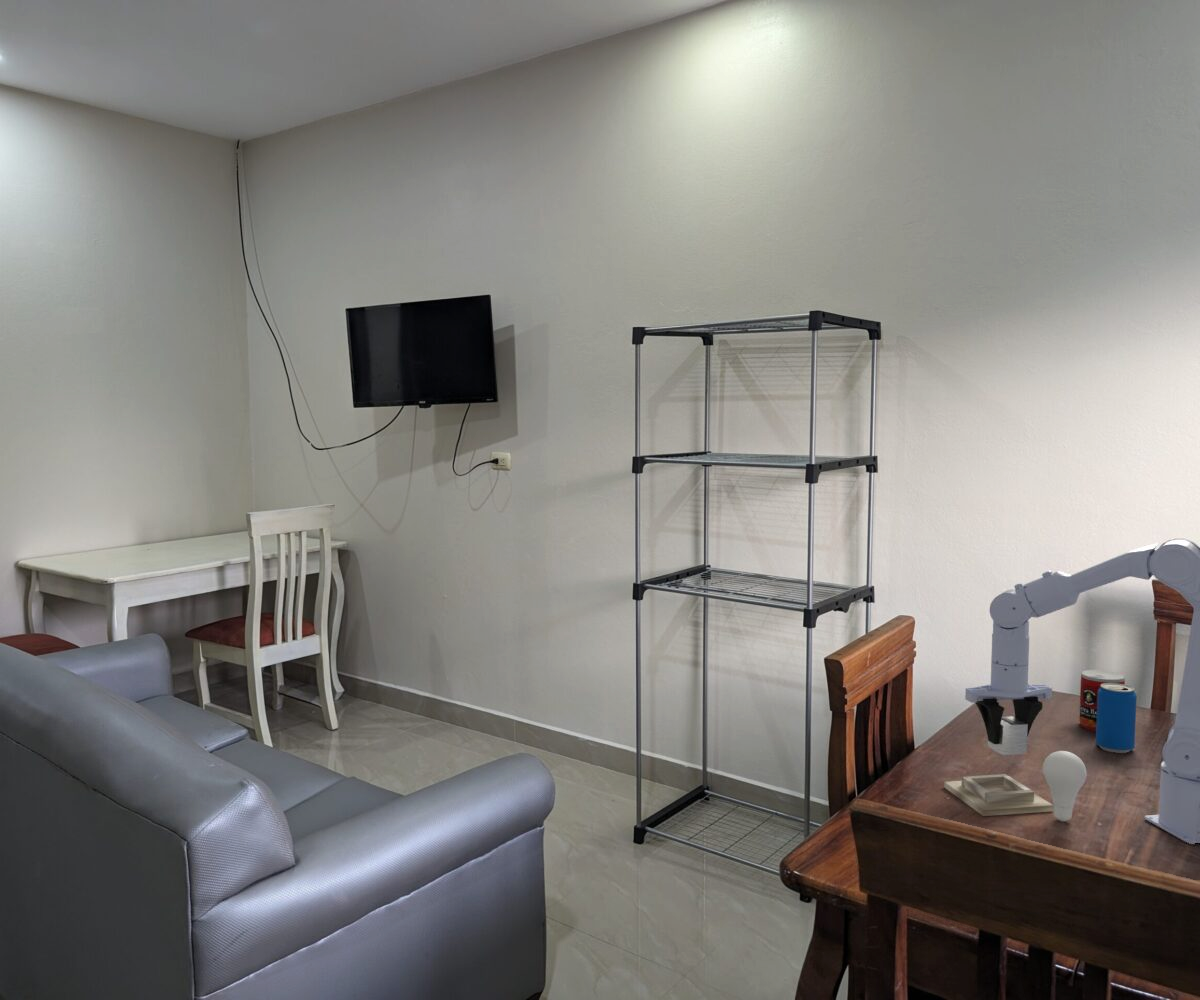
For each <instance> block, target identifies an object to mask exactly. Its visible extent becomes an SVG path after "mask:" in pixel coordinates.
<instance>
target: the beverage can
mask: <svg viewBox="0 0 1200 1000" xmlns="http://www.w3.org/2000/svg"><path fill="white" fill-rule="evenodd" d="M1137 696H1138V695H1137V693H1136V692H1135V688H1134V687H1133V686H1130V685H1128V684H1125V685H1124V684H1118V683H1103V684H1101V688H1100V689H1099V690H1098V700H1097V724H1096V731H1095V743H1096V745H1098V747H1100V749H1101V750H1104V751H1106V752H1109V753H1114V752H1115V753H1114V754H1127V752H1128V753H1129V752H1130V751H1132V750H1134V749H1135V745H1136V743H1135V742H1136V741H1135V740H1136V738H1135V737H1136V717H1137V715H1136V714H1137Z"/></svg>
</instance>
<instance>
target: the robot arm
mask: <svg viewBox="0 0 1200 1000" xmlns="http://www.w3.org/2000/svg"><path fill="white" fill-rule="evenodd" d="M1159 544H1160V543H1158V542H1157V543H1154V544H1148V545H1145V546H1141V547H1138V548H1136V549H1131V550H1129V551H1126V552H1124V553H1121V554H1118V555H1117V556H1115V557H1112V558H1109V559H1107V560H1105V561H1102V562H1100V563H1098V564H1095V565H1093V566H1090V567H1088V568H1086V569H1083V570H1080V571H1077V572H1075V573H1074V574H1069V573H1065V572H1063V571H1060V570H1058V571H1055V572H1053V571H1052V570H1048V571H1045V572H1043V573H1041V576H1042V577H1040V578H1038V579H1035V580H1032V581H1030V582H1027V583H1025V584H1023V583H1021V582H1019V583H1017V584H1015V585H1014V588H1013V589H1008V590H1005V591H1003V592H1002V593H1000V594H998V595H997V596H995V597H994V598H993V600H991V603H990V606H989V615H990V617H991V619H992V635H991V658H990V659H991V661H990V662H991V664H990V667H991V668H990V684H985V685H982V686H975V687H966V688H965V695H964V699H965V700H966V701H968V702H970V703H975V705H976V706H977V708H978V711H979V712H980V715H981V717H982V720H983V724H984V727H985V730H986V734H987V742H988V741H990V742H991V743H993V744H999V739H1000V724H1001V719H1002V716H1004V715H1003V713H1004V711H1005V707H1004V706H1002V705H1000V702H998V701H1004V700H1005V701H1006V700H1007V701H1009V700H1010V701H1011V700H1012V703H1013V704H1012V705H1013V709H1014V717H1015V718H1017V719H1018V720H1020V721H1022V722H1024V723H1026V724H1028V728H1027V738H1028V737H1029V734H1030V731H1031V728H1032V726H1033V724H1034V721H1035V720H1036V718H1037V716H1038V715H1039V713H1040V712H1042V710H1043V702H1042V701H1040V700H1039V699H1045V700H1051V699H1053V687H1051V686H1049V685H1046V684H1028V683H1029V664H1030V663H1029V661H1030V660H1029V659H1030V635H1029V632H1030V631H1029V630H1030V621H1029V620H1030V619H1031V618H1036V619H1037V618H1040V617H1044V616H1046V615H1049V614H1052V613H1054V612H1057V611H1060V610H1062V609H1065V608H1068V607H1070V606H1073V605H1076V603H1077V602H1078V599H1079V596H1080V594H1082V593H1084V592H1087V591H1089V590H1094V589H1095V588H1099V587H1102V586H1105V585H1108V584H1111V583H1114V582H1116V581H1119V580H1124V579H1125V578H1136V579H1142V580H1147V581H1148V580H1150V579H1151V578H1152V577H1153V576H1154V578H1155V579H1156V580H1157V581H1159V582H1160V583H1162V584H1163V585H1165V586H1166V587H1169V588H1170V589H1173V590H1174V591H1175V592H1178V593H1179V594H1180V595H1181V597H1183V598H1184V600H1185V601H1186V602H1188V604H1190V605H1191V607H1192V608H1193V614H1192V619H1191V625H1190V631H1189V637H1188V643H1187V650H1186V656H1185V663H1184V667H1183V668H1184V669H1183V674H1182V680H1181V681H1182V683H1181V686H1180V694H1179V699H1178V704H1177V705H1178V706H1177V711H1176V715H1175V720H1174V725H1173V726H1172V727H1171V728H1170V730H1169V732H1168V735H1167V741H1165V743H1164V745H1163V748H1162V753H1161V754H1162V759H1163V761H1161V763H1160V776H1159V777H1160V778H1159V779H1160V781H1159V782H1160V783H1159V802H1158V814H1151V815H1147V814H1146V815H1144V819H1145V820H1146V821H1147V822H1150V823H1151V824H1153V825H1154V826H1157V827H1158V828H1161V829H1162V830H1164V831H1166V832H1167V833H1169V834H1171V835H1172V836H1174V837H1175V838H1178V839H1180V840H1182V841H1183V842H1185V843H1186V842H1187V844H1188V843H1189V845H1196V844H1195V843H1200V546H1199V545H1198V544H1196V543H1195V542H1194V541H1192V540H1189V539H1187V538H1181V537H1180V538H1179V537H1176V538H1171V539H1168V540H1166V541H1165V542H1163V543H1161V545H1160V546H1159ZM1158 546H1159V547H1158ZM1157 547H1158V548H1157ZM1156 548H1157V549H1156Z"/></svg>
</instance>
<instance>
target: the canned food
mask: <svg viewBox="0 0 1200 1000" xmlns="http://www.w3.org/2000/svg"><path fill="white" fill-rule="evenodd" d="M1125 677H1126V676H1124V674H1121V673H1118V672H1115V671H1110V670H1102V669H1088V670H1087V669H1086V670H1083V671H1082V672H1081V674H1080V692H1079V693H1080V694H1079V695H1080V696H1079V717H1078V718H1079V725H1080V724H1081V725H1080V727H1082V728H1083V727H1084V728H1083V729H1085V728H1087V729H1086V730H1088V729H1089V731H1091V730H1093V731H1092V732H1096V724H1097V700H1098V690H1099V689H1100V688H1101V684H1103V683H1118V684H1124V685H1126V684H1125V682H1126V679H1125Z"/></svg>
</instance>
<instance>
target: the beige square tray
mask: <svg viewBox="0 0 1200 1000" xmlns="http://www.w3.org/2000/svg"><path fill="white" fill-rule="evenodd" d="M943 783H944V784H943V785H944V786H943V787H944V788H945V789H946V790H947V791H949V792H950V793H951V794H953V796H955V797H957V798H958V799H959V800H961V802H964V803H965V804H966V805H967V806H969V807H970V808H972V809H973V810H974V811H975V812H977V813H978V814H980V815H981V816H983V817H988V816H1004V815H1019V814H1033V813H1034V814H1035V813H1047V812H1048V813H1049V812H1054V804H1053V803H1050V802H1049V801H1047V800H1046V799H1044V798H1043V797H1041V796H1040V795H1038V794H1037V793H1035V791H1034V790H1032V789H1030V788H1029V787H1027V786H1026V785H1024V784H1022V783H1021V782H1019V781H1018V780H1016V779H1015V778H1012V777H1011V776H1010V775H1008V774H1006V773H1001V774H999V773H998V774H983V775H972V776H971V775H968V776H961V780H952V781H951V780H950V781H944V782H943Z"/></svg>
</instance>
